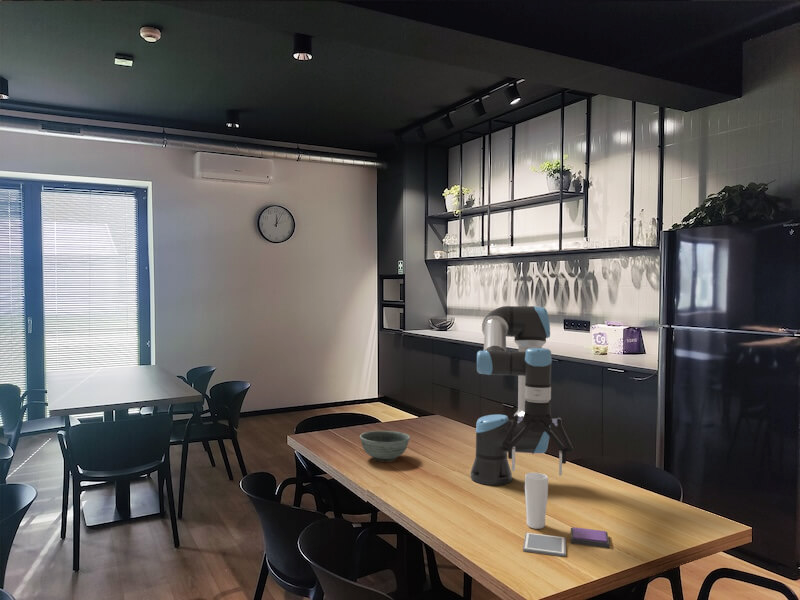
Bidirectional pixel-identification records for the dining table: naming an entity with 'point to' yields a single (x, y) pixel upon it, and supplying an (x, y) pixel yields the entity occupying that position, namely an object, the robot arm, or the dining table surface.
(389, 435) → the bowl
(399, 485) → the dining table surface
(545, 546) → the plate
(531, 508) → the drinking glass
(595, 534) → the ink pad
